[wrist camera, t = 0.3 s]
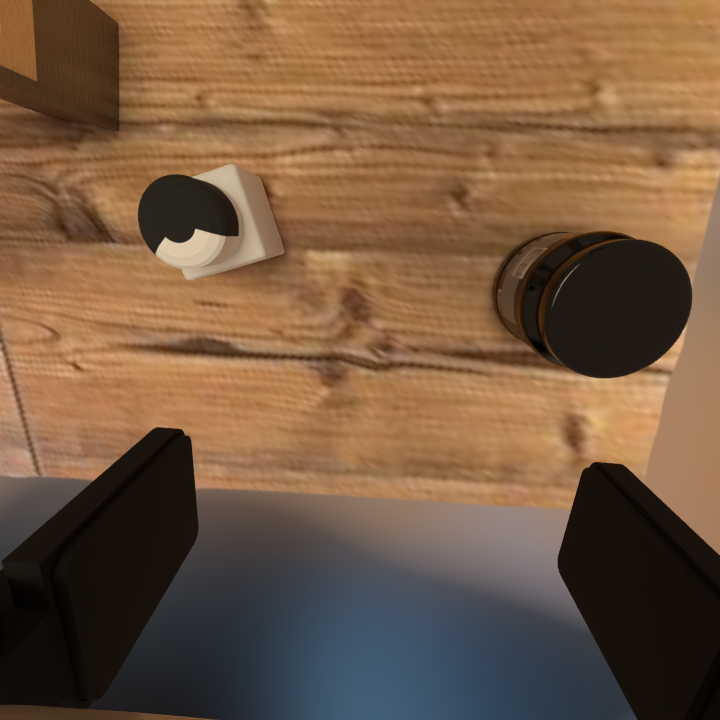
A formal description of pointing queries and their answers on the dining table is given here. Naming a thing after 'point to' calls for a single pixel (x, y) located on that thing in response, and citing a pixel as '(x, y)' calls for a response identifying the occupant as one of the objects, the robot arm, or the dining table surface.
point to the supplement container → (594, 300)
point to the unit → (60, 60)
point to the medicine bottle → (209, 221)
